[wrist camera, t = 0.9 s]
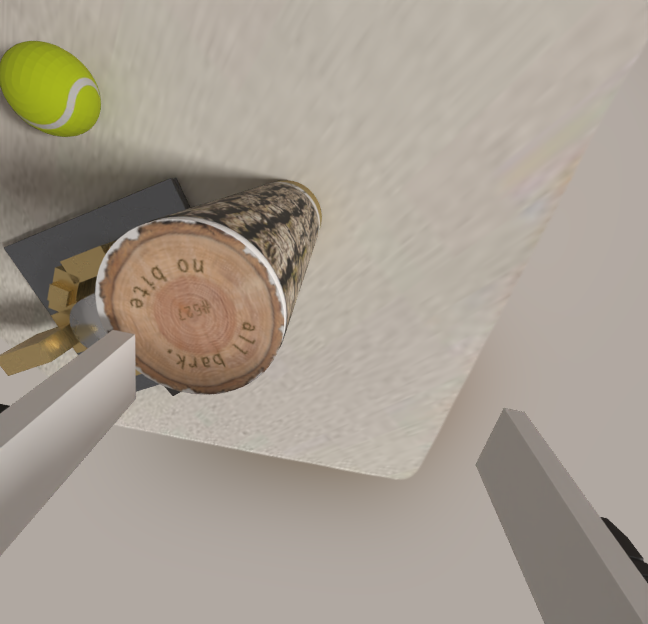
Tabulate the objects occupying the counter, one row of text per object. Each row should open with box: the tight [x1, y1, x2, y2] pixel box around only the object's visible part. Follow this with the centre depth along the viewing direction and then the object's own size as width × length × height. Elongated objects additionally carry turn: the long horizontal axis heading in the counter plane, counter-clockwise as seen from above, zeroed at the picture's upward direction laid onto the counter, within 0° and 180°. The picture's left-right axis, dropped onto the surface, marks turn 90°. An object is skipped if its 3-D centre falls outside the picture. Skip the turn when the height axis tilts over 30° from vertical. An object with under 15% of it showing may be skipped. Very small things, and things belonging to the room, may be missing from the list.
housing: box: [4, 178, 190, 396], centre depth 37 cm, size 20×20×7 cm
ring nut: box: [0, 240, 141, 376], centre depth 35 cm, size 16×13×8 cm
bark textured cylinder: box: [95, 180, 322, 394], centre depth 24 cm, size 7×7×25 cm
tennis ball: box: [0, 41, 101, 137], centre depth 30 cm, size 7×7×7 cm
